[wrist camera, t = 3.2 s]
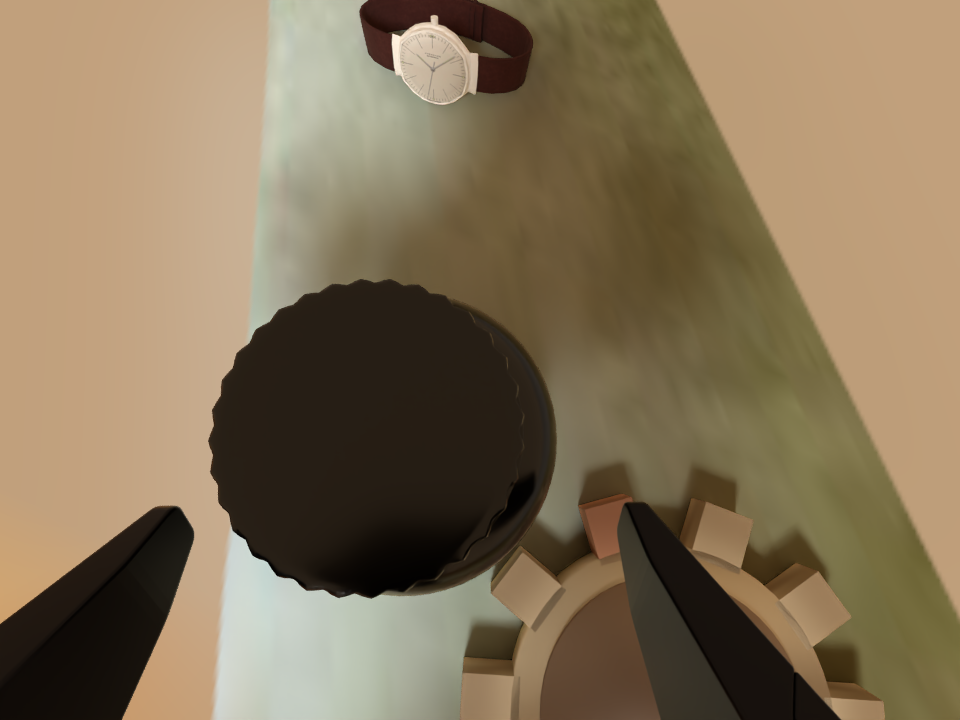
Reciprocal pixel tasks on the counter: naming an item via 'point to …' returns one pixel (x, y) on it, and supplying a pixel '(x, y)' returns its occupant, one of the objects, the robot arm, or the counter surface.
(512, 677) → the sprocket wheel
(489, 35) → the watch
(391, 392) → the supplement bottle
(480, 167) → the counter surface
